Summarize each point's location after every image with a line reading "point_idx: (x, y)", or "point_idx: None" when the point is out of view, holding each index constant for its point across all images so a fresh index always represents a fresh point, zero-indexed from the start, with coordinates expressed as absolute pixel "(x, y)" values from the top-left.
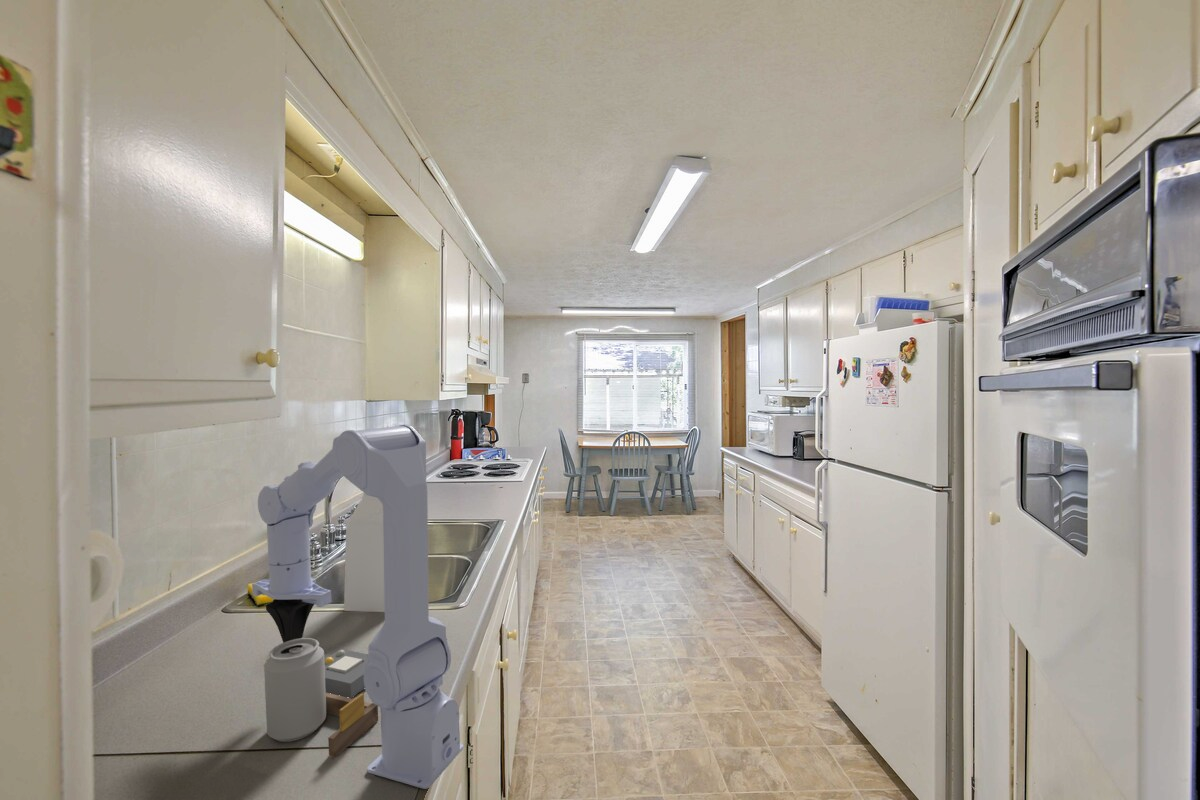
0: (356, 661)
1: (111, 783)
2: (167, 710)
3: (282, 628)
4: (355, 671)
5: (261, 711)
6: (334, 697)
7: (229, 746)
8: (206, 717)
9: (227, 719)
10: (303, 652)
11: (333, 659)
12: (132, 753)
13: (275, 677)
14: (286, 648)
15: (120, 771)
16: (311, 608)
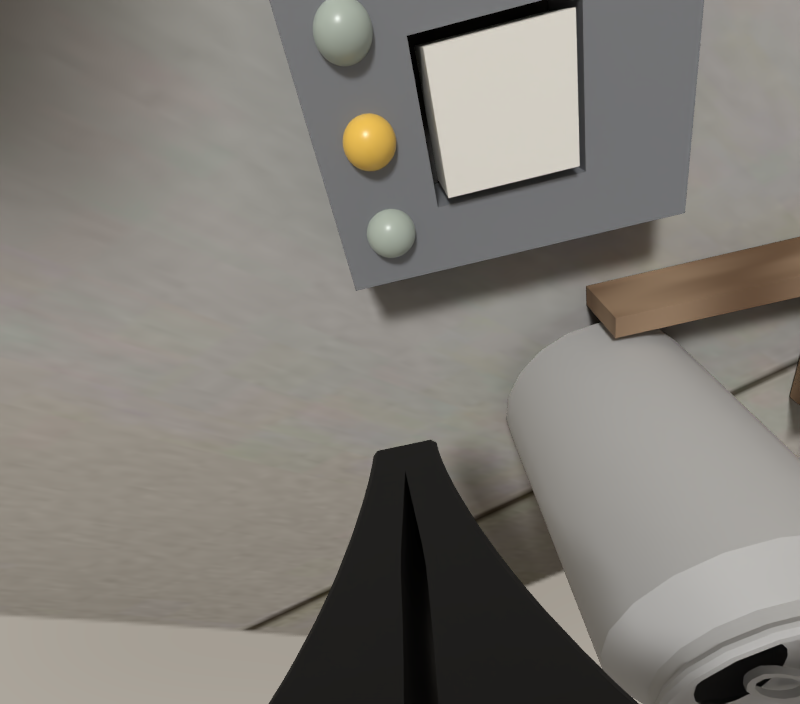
0: (558, 52)
1: None
2: (122, 542)
3: (434, 658)
4: (620, 120)
5: (383, 410)
6: (692, 317)
7: (476, 506)
8: (265, 500)
9: (333, 475)
10: None
11: (383, 120)
12: (292, 607)
13: (735, 666)
14: (629, 640)
15: None
16: (588, 660)
